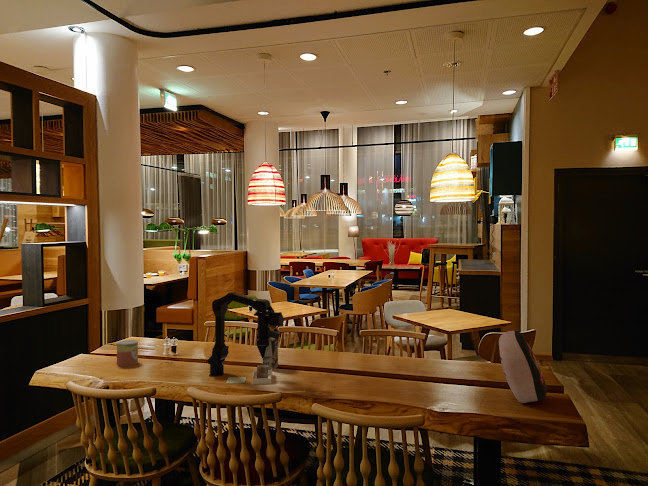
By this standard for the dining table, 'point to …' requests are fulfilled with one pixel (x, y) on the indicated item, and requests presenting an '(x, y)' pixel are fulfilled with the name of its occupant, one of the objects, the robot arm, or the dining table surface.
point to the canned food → (127, 352)
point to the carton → (262, 381)
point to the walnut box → (262, 371)
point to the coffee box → (271, 354)
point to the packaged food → (521, 368)
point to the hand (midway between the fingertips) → (263, 355)
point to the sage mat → (236, 380)
